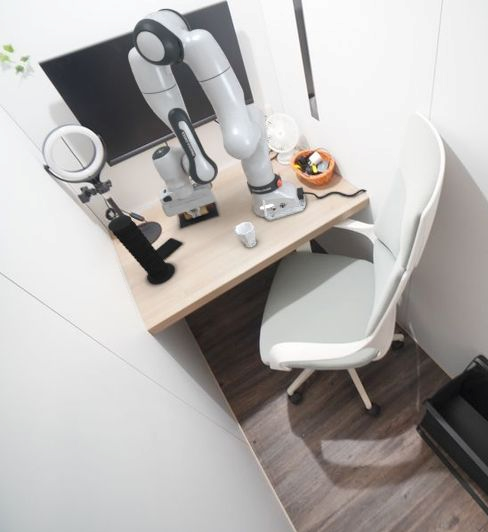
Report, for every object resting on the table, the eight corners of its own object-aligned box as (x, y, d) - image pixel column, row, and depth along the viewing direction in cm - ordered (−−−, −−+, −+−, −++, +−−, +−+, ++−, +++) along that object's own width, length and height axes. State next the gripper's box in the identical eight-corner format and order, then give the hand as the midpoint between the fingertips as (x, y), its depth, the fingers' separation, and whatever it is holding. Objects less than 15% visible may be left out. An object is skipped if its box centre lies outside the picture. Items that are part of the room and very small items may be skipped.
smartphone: (140, 262, 122) (170, 237, 129) (141, 264, 122) (171, 238, 130) (152, 268, 119) (182, 242, 127) (153, 269, 119) (183, 243, 127)
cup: (251, 252, 120) (244, 236, 114) (232, 244, 124) (224, 229, 118) (263, 240, 124) (257, 224, 118) (244, 232, 128) (237, 217, 122)
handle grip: (162, 259, 122) (141, 278, 117) (120, 206, 102) (93, 226, 96) (180, 268, 119) (160, 288, 113) (141, 214, 98) (114, 235, 93)
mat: (214, 200, 144) (213, 199, 144) (218, 215, 137) (218, 215, 137) (178, 212, 142) (178, 211, 141) (181, 228, 134) (180, 227, 134)
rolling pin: (215, 213, 138) (210, 204, 134) (182, 224, 135) (176, 215, 131) (213, 206, 141) (208, 197, 137) (181, 217, 138) (176, 208, 134)
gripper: (206, 176, 128) (219, 203, 138) (154, 192, 124) (172, 219, 134) (209, 184, 124) (222, 211, 134) (155, 201, 120) (173, 228, 130)
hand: (197, 216), depth 134 cm, fingers closed
